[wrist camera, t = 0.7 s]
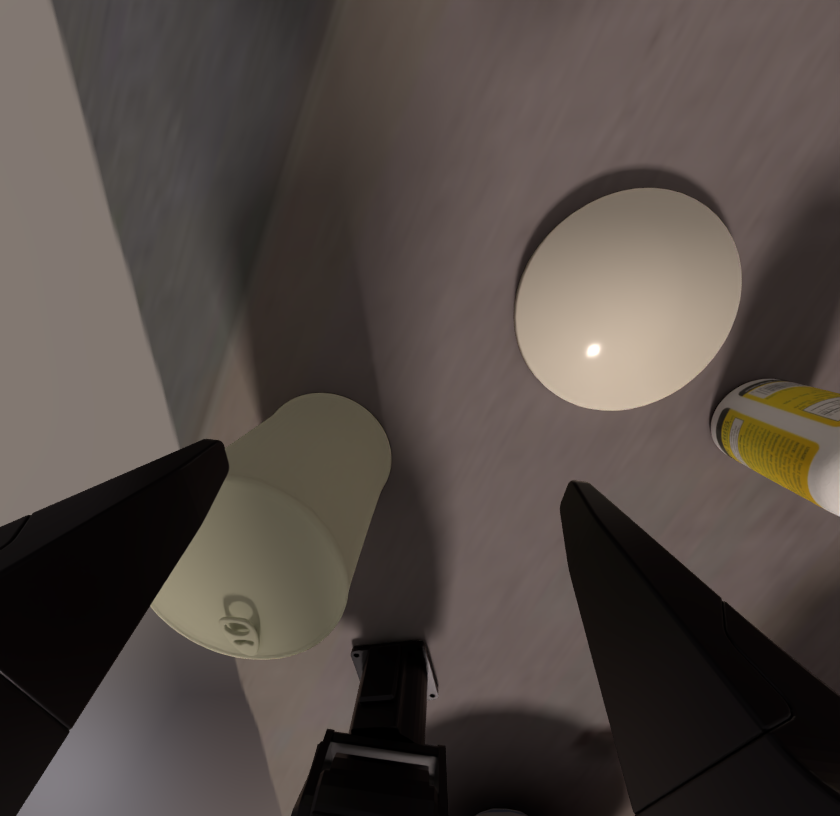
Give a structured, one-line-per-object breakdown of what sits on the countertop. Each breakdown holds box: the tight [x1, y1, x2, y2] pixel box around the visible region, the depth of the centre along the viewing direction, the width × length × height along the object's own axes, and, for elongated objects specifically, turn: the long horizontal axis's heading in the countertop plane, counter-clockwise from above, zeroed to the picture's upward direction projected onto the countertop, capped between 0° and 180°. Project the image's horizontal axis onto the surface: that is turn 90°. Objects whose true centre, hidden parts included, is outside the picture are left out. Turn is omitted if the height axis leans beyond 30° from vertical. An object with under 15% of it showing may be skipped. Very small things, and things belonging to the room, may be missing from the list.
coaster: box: [514, 188, 742, 410], centre depth 20 cm, size 12×12×1 cm
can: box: [150, 393, 391, 660], centre depth 19 cm, size 9×9×12 cm
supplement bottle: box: [711, 379, 840, 516], centre depth 17 cm, size 5×5×10 cm
